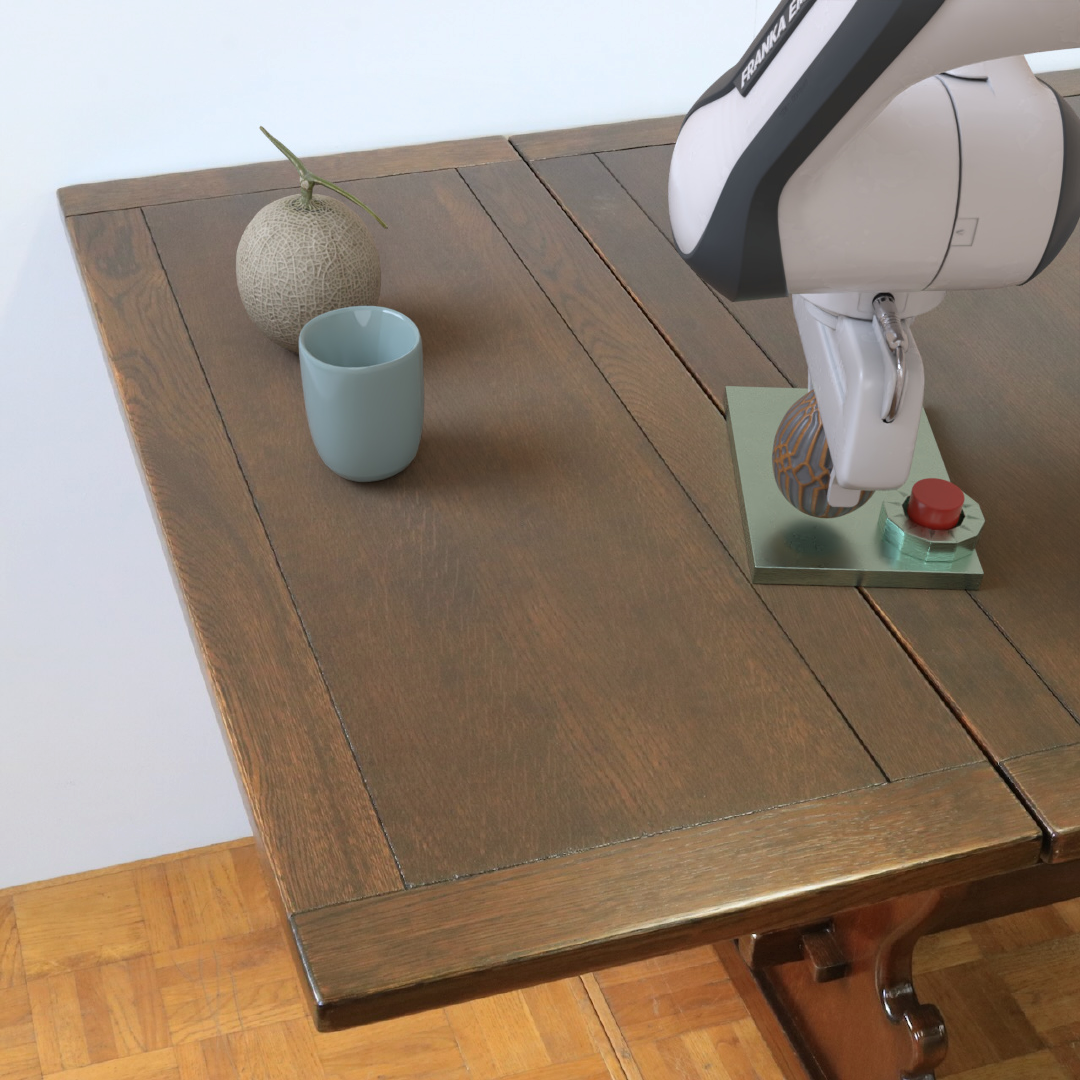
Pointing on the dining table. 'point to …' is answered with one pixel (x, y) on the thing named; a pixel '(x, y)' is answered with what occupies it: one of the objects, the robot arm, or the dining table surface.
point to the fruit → (305, 259)
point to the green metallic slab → (850, 540)
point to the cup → (363, 390)
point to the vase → (806, 461)
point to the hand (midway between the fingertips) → (829, 458)
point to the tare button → (935, 504)
